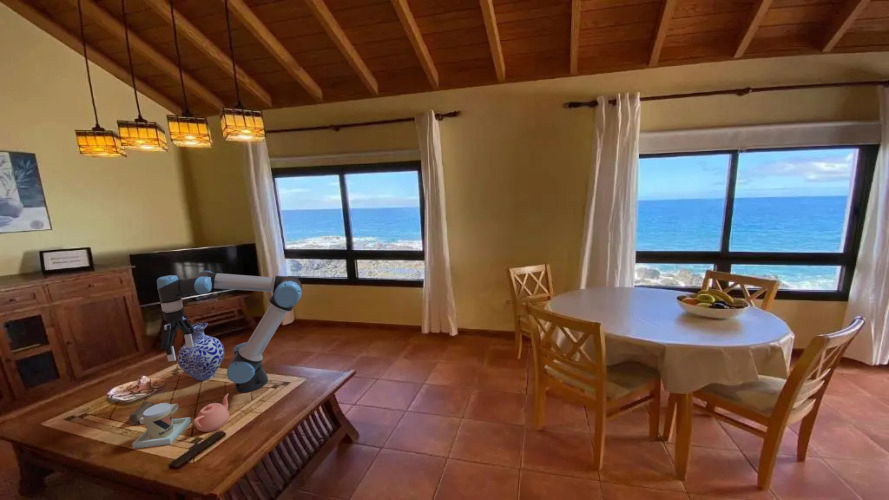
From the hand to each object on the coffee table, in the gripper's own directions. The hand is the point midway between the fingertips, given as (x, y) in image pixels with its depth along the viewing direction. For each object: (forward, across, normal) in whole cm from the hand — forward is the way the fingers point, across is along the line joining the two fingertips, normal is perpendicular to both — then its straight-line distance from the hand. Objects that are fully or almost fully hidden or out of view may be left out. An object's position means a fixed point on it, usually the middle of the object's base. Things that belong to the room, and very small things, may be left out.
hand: (181, 353), depth 159 cm
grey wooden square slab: (+29, +2, -13) cm, 32 cm away
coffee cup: (+28, +18, -2) cm, 33 cm away
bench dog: (+28, +2, -20) cm, 35 cm away
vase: (+29, -33, -11) cm, 45 cm away
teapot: (+29, +13, +16) cm, 36 cm away
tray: (+29, +17, -2) cm, 33 cm away
